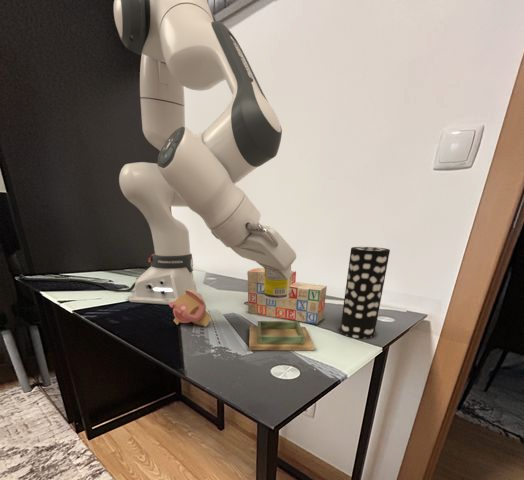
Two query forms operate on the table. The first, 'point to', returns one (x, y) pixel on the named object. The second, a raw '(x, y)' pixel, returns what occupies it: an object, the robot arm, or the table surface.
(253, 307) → the stack of blocks
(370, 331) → the spotted tube
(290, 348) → the wooden board green frame
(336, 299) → the table surface
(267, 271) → the supplement bottle
